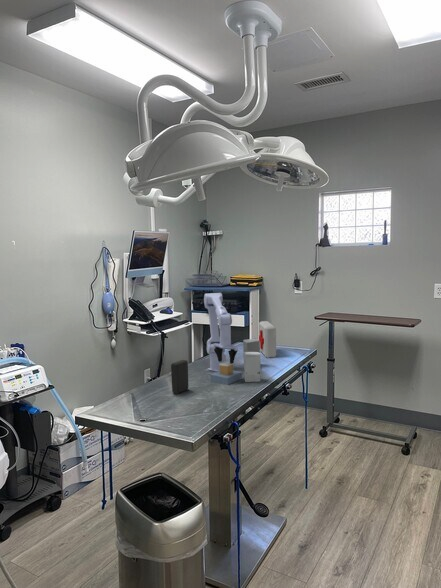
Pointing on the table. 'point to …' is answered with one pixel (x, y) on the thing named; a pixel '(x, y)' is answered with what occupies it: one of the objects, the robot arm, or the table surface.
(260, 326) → the bevelled white case
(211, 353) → the robot arm
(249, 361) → the skincare box
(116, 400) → the table surface
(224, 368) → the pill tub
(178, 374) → the card reader
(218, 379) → the box
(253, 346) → the skincare box
